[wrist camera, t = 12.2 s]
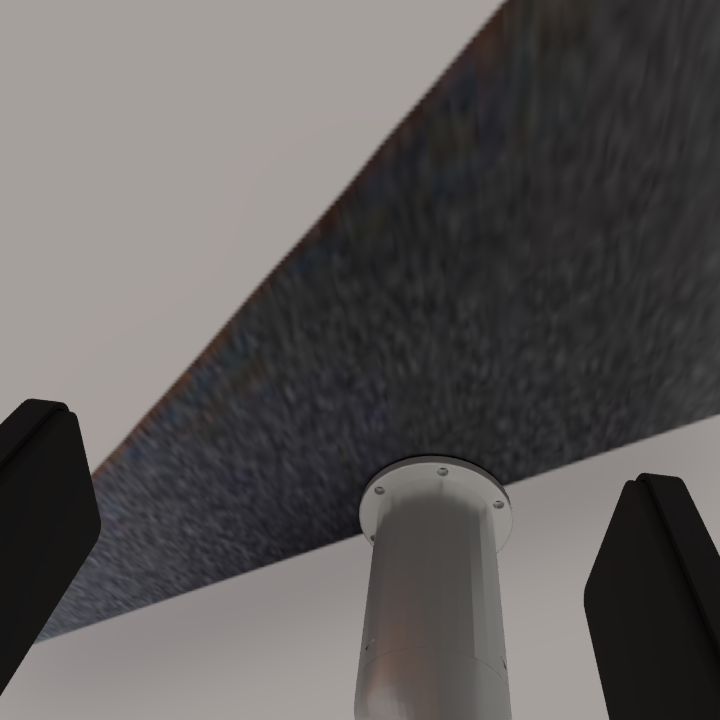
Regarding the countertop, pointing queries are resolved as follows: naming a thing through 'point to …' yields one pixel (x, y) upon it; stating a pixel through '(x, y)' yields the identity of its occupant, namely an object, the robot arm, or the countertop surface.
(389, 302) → the countertop surface
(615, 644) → the robot arm
